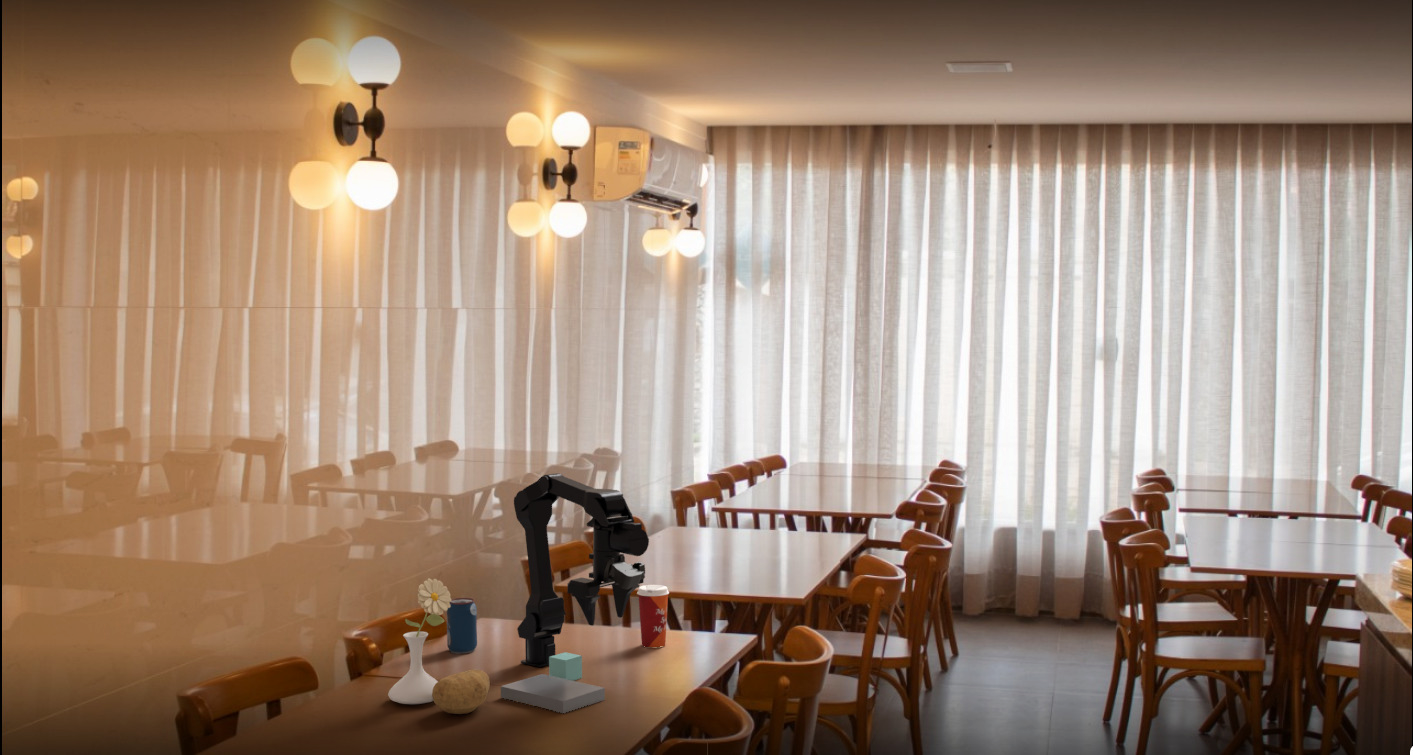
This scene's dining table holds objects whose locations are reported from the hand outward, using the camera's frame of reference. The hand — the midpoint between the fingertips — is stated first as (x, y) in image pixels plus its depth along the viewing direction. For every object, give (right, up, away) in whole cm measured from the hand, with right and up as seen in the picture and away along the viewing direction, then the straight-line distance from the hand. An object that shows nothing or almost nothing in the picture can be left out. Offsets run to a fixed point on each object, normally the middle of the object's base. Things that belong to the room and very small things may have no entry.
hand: (605, 621), depth 284 cm
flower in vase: (-37, -14, -13) cm, 42 cm away
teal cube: (-9, -13, +3) cm, 16 cm away
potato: (-27, -14, -21) cm, 37 cm away
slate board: (-10, -14, -13) cm, 21 cm away
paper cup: (+9, -12, +32) cm, 35 cm away
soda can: (-36, -12, +28) cm, 47 cm away
